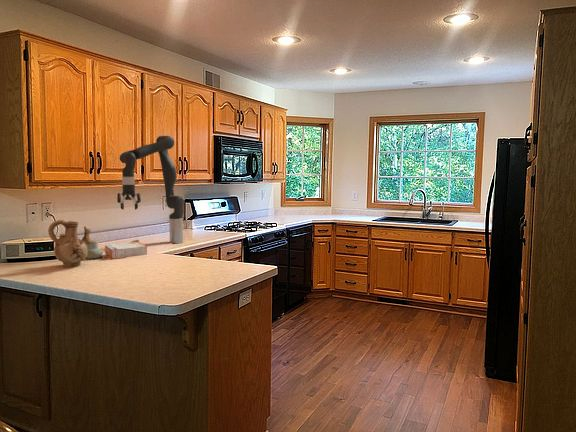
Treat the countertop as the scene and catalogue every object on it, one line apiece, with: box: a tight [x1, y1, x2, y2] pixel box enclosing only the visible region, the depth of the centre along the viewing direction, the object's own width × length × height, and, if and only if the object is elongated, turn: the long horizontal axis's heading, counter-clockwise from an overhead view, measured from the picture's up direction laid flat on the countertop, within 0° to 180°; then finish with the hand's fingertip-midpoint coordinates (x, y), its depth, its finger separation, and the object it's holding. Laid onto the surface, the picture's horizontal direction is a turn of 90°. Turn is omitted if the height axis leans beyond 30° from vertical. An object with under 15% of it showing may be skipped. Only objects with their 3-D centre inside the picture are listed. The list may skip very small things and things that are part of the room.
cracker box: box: [104, 241, 148, 260], centre depth 283 cm, size 14×6×21 cm
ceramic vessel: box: [47, 219, 95, 268], centre depth 251 cm, size 18×19×25 cm
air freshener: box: [85, 240, 104, 260], centre depth 273 cm, size 11×8×10 cm
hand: (129, 209), depth 301 cm, fingers open, 8 cm apart
